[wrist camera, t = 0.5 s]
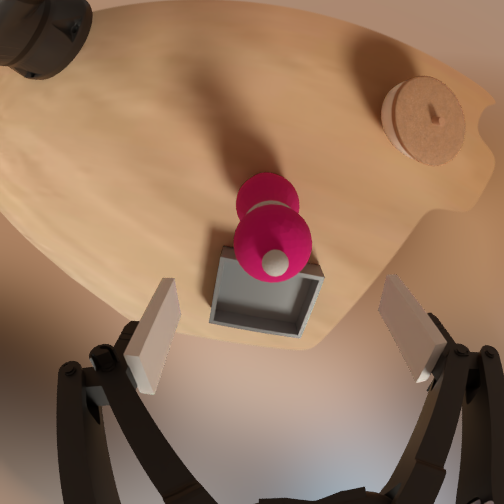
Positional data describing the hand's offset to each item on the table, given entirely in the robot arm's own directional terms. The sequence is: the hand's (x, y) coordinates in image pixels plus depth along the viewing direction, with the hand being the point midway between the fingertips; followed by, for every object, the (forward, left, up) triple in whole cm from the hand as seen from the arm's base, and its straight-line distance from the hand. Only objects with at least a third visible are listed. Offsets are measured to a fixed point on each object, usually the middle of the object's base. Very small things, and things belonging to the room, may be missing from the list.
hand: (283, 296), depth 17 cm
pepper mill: (-1, 0, -22) cm, 22 cm away
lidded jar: (-2, +22, -22) cm, 31 cm away
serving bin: (+11, -7, -22) cm, 25 cm away
